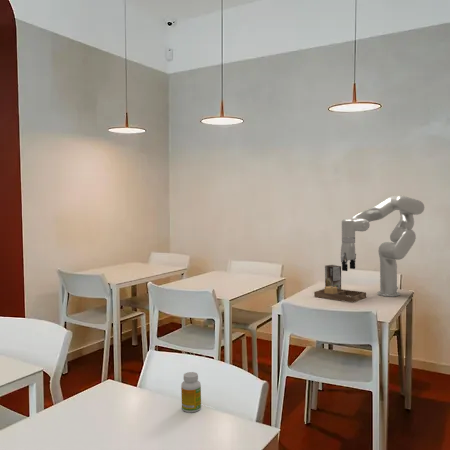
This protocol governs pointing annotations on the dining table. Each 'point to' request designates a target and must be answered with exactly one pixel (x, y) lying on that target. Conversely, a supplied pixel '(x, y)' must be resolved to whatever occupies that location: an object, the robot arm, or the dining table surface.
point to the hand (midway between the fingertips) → (348, 269)
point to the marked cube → (331, 289)
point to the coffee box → (333, 276)
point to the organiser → (341, 295)
